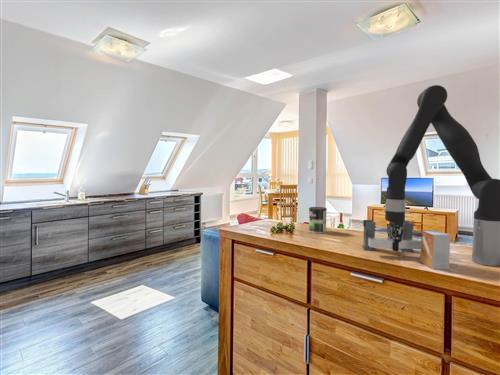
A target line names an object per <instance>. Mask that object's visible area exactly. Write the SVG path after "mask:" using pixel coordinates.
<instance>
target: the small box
mask: <svg viewBox="0 0 500 375" xmlns="http://www.w3.org/2000/svg"><path fill="white" fill-rule="evenodd" d="M420 232H421V236H420V237H421V240H420V241H421V249H420V259H419V260H420V263H421V264H423V265H425V266H427V267H428V268H430V269H432V270H449V269H450V250H451V248H450V247H451V245H450V244H451V234H448V233H445V232H443V231H439V230H437V229H436V230H435V229H434V230H433V229H429V230H428V229H426V230H425V229H423V230H421V231H420Z"/></svg>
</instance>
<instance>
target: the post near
mask: <svg viewBox="0 0 500 375" xmlns="http://www.w3.org/2000/svg"><path fill="white" fill-rule="evenodd" d="M414 224H415V223H414V222H410V220H405V221H404V222H400V226H401V229H403V235H402V239H413V231H414ZM400 250H401V252H405V251H407V252H410V253H414V250H415V249H400ZM400 250H399V251H400Z"/></svg>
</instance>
